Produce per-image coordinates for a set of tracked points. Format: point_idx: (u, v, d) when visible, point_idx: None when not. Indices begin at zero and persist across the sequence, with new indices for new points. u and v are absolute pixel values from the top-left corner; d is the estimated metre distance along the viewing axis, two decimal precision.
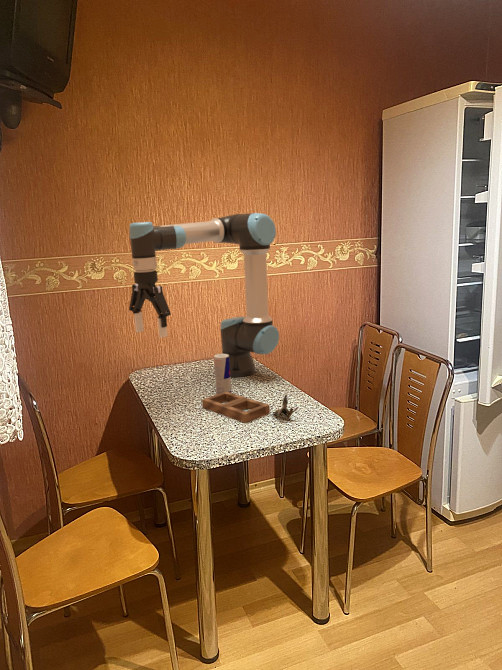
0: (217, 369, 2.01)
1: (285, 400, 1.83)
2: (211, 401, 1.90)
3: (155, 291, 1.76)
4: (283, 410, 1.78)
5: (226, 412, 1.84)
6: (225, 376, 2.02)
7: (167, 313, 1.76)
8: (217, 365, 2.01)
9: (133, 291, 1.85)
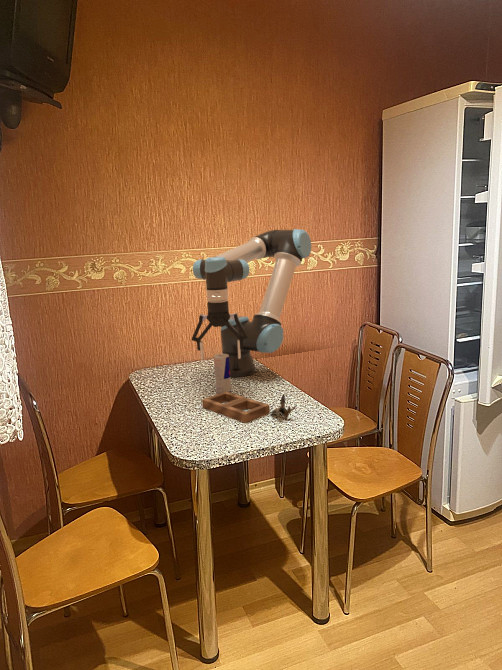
0: (217, 369, 2.01)
1: (283, 399, 1.84)
2: (211, 401, 1.90)
3: (236, 317, 1.98)
4: (281, 409, 1.79)
5: (226, 412, 1.84)
6: (225, 376, 2.02)
7: (247, 335, 2.01)
8: (217, 365, 2.01)
9: (200, 321, 1.99)
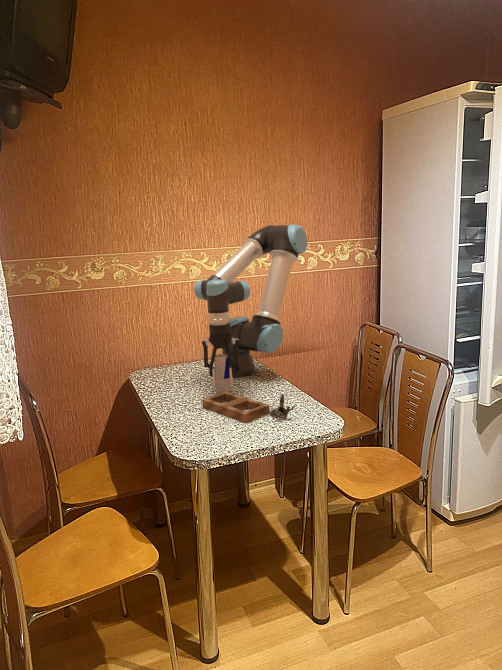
0: (217, 369, 2.01)
1: (282, 399, 1.84)
2: (211, 401, 1.90)
3: (236, 343, 2.00)
4: (280, 409, 1.79)
5: (226, 412, 1.84)
6: (225, 376, 2.02)
7: (239, 362, 2.03)
8: (217, 365, 2.01)
9: (205, 346, 2.01)
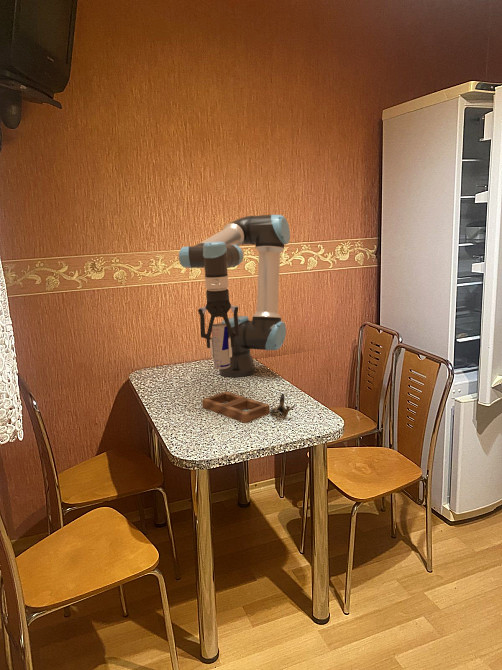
0: (215, 339, 1.85)
1: (282, 398, 1.85)
2: (211, 401, 1.90)
3: (236, 311, 1.84)
4: (280, 408, 1.80)
5: (226, 412, 1.84)
6: (224, 347, 1.85)
7: None
8: (215, 335, 1.85)
9: (201, 314, 1.84)
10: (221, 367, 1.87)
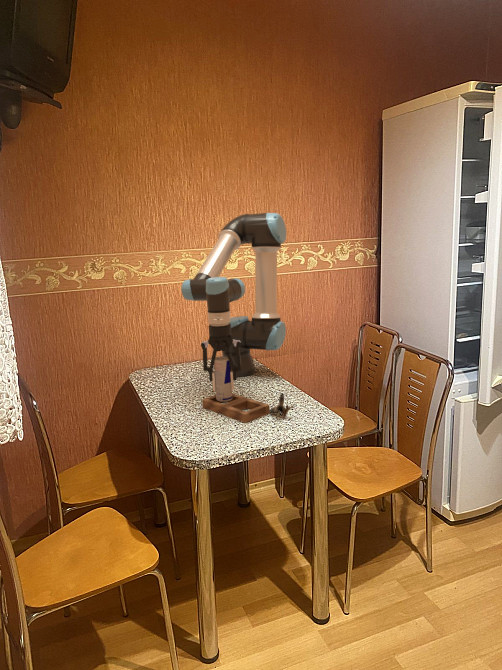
0: (218, 373, 1.88)
1: (282, 398, 1.85)
2: (211, 401, 1.90)
3: (238, 345, 1.87)
4: (279, 407, 1.80)
5: (226, 412, 1.84)
6: (226, 380, 1.88)
7: (240, 366, 1.89)
8: (217, 369, 1.87)
9: (204, 349, 1.87)
10: (223, 400, 1.89)
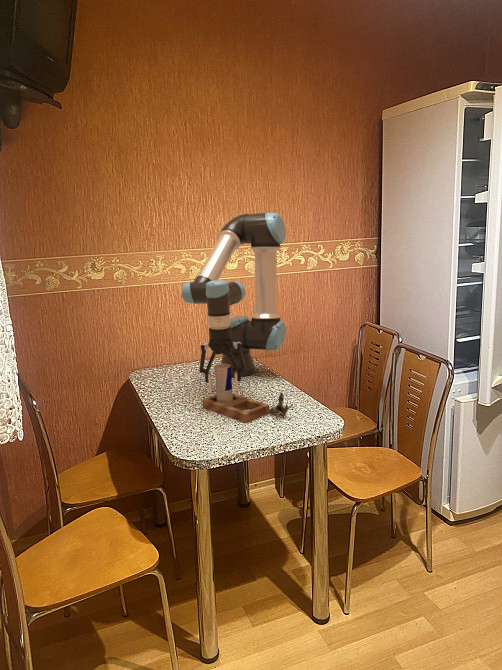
0: (219, 380, 1.88)
1: (281, 397, 1.86)
2: (211, 401, 1.90)
3: (239, 347, 1.87)
4: (278, 407, 1.81)
5: (226, 412, 1.84)
6: (227, 387, 1.89)
7: (245, 367, 1.90)
8: (218, 376, 1.88)
9: (203, 351, 1.87)
10: None
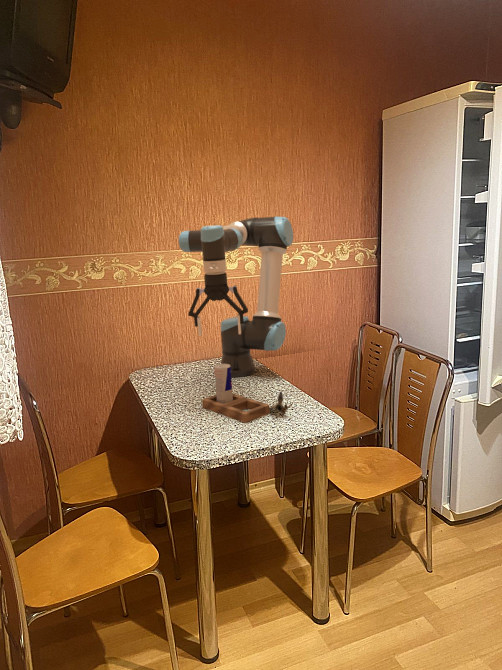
0: (218, 380, 1.88)
1: (280, 396, 1.86)
2: (211, 401, 1.90)
3: (235, 290, 1.85)
4: (278, 406, 1.81)
5: (226, 412, 1.84)
6: (226, 387, 1.89)
7: (247, 309, 1.88)
8: (218, 376, 1.88)
9: (197, 295, 1.86)
10: None
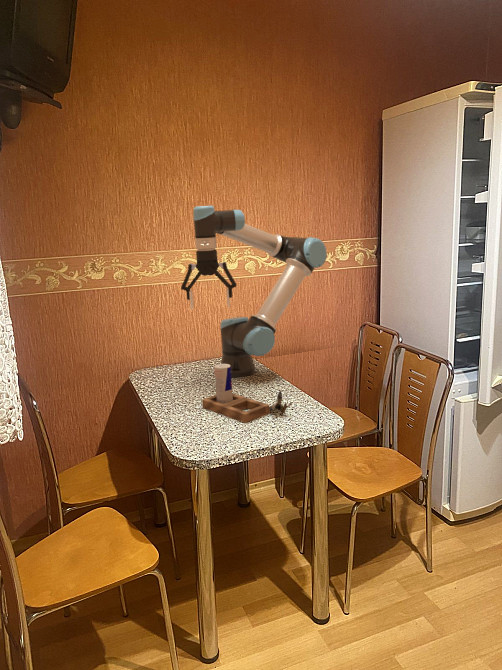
0: (218, 380, 1.88)
1: (280, 396, 1.87)
2: (211, 401, 1.90)
3: (224, 266, 2.00)
4: (277, 405, 1.82)
5: (226, 412, 1.84)
6: (226, 387, 1.89)
7: (236, 284, 2.03)
8: (218, 376, 1.88)
9: (189, 270, 2.01)
10: None
